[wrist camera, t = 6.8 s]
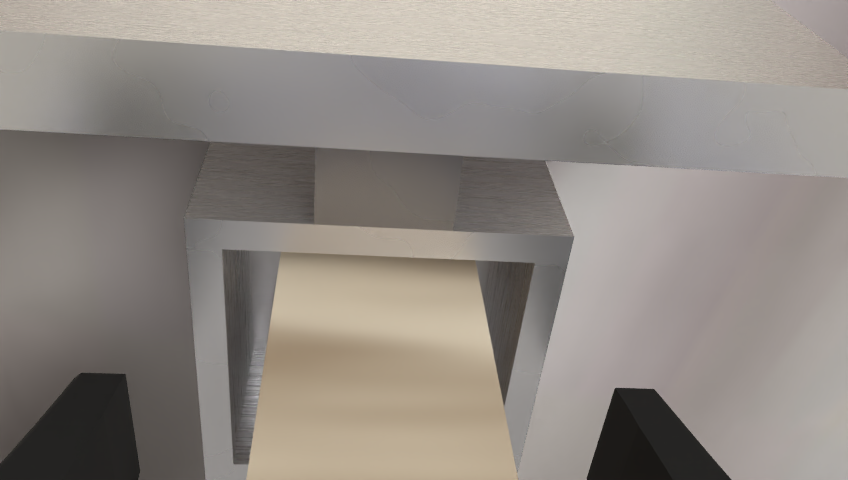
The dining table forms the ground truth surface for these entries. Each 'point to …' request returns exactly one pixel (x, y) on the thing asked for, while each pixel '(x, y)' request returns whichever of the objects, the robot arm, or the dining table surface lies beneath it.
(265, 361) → the rail end
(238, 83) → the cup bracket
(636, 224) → the dining table surface
